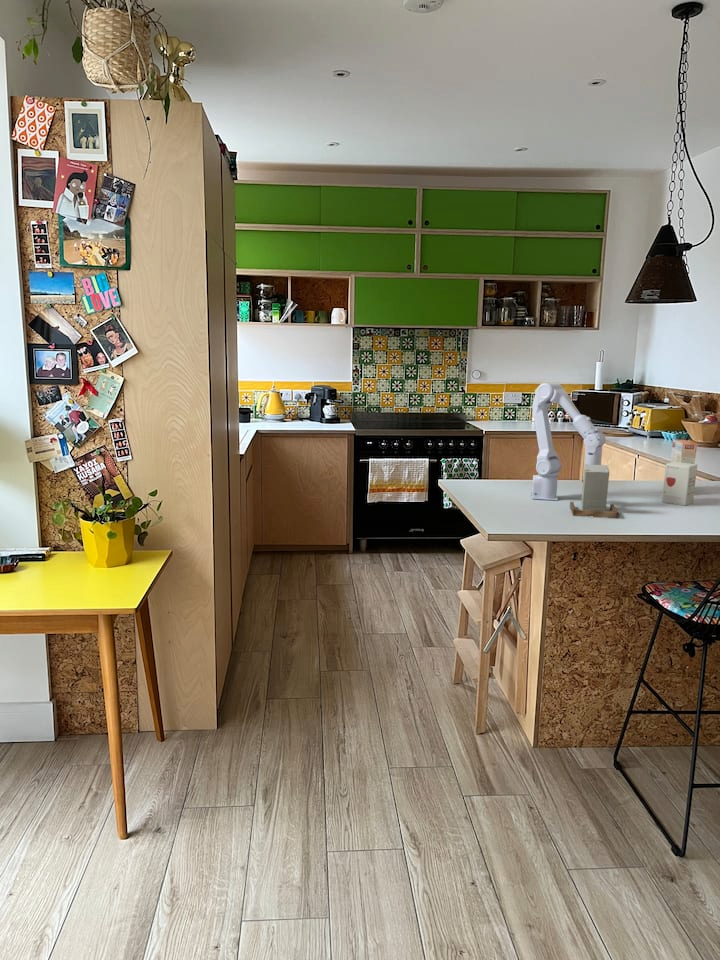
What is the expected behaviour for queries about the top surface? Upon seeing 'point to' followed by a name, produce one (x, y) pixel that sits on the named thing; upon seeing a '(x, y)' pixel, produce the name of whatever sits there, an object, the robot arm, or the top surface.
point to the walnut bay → (595, 512)
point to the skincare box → (595, 487)
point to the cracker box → (683, 451)
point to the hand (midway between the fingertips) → (589, 500)
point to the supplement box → (679, 483)
